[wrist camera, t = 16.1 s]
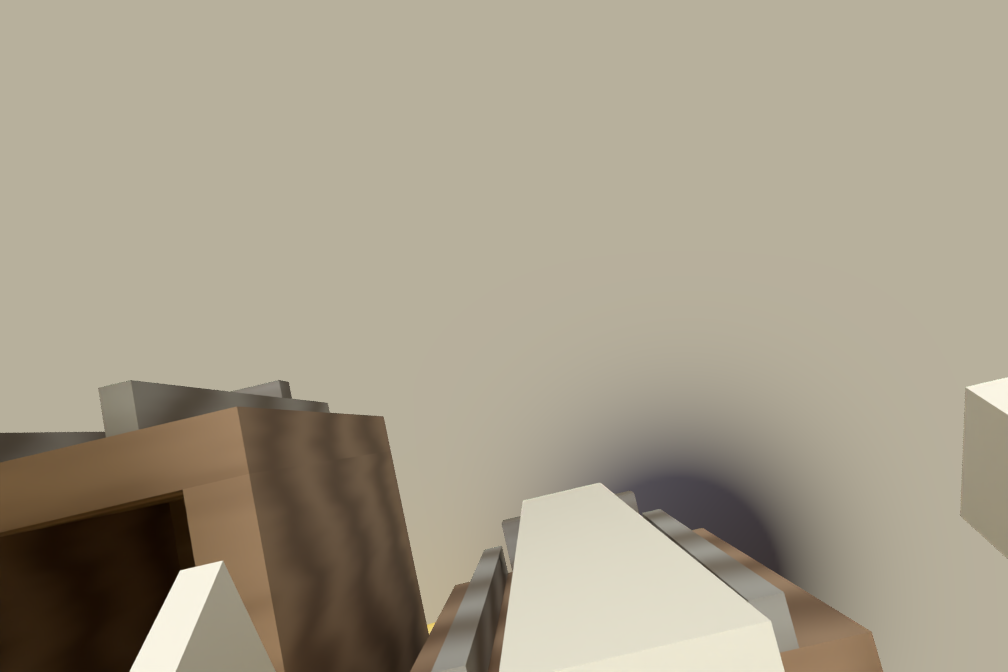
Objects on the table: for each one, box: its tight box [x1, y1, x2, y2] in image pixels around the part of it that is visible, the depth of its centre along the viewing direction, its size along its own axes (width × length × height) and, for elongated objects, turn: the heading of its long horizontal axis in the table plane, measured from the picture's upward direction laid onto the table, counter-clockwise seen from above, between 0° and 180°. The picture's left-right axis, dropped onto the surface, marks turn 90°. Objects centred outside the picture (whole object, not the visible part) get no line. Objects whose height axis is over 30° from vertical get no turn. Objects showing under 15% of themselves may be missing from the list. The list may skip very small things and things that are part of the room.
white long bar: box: [499, 483, 785, 672], centre depth 23 cm, size 26×4×4 cm, turn 178°
